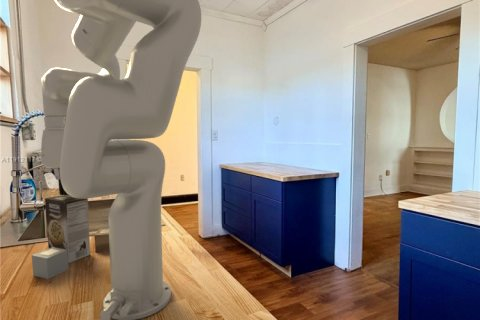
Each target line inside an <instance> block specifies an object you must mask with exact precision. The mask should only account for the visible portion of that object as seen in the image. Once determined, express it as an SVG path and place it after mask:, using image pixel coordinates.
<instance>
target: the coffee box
mask: <svg viewBox="0 0 480 320" xmlns="http://www.w3.org/2000/svg"><path fill="white" fill-rule="evenodd" d="M44 202H45V215H46V216H45V217H46V231H47V244H48V245H47V247H48V248H47V249H49V248H52V247H55V248H60V249H65V250H67V254H68V264H70V263H73V262H76V261H78V260H80V259H83V258H86V257H87V256H90V255H91V243H90V242H91V241H90V223H89V222H90V221H89V219H90V217H89V198H87V199H78V198H74V197H72V196H70V195H60V194H59V195H54V196H50V197H45V198H44Z"/></svg>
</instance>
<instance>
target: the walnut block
mask: <svg viewBox="0 0 480 320" xmlns="http://www.w3.org/2000/svg"><path fill="white" fill-rule="evenodd" d="M93 237H94V249H95V250H94V252H95V253H101V252H102V253H104V252H110V248H109V228H100V229H98V230H97V231H96V232H95V234H94V236H93Z"/></svg>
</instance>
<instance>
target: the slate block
mask: <svg viewBox="0 0 480 320" xmlns="http://www.w3.org/2000/svg"><path fill="white" fill-rule="evenodd" d="M31 263H32V274H33V276H34V277H38V278H42V279H46V280H50V279H52V278H54V277H56V276H58V275H61V274H62V273H64V272H66V271H68V270H69V263H68V254H67V250H65V249H60V248H55V247H52V248H47V249H44V250H42V251H39V252H36V253H34V254H32V255H31Z"/></svg>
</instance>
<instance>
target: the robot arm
mask: <svg viewBox="0 0 480 320" xmlns="http://www.w3.org/2000/svg"><path fill="white" fill-rule="evenodd" d="M54 2H55V3H56V4H57V6H58V7H60V8H61V9H63V10H65V11H66V12H70V13H74V14H76V15H79V18H78V20H77V22H76V24H75V26H74V28H73V30H72V32H71V40H72V43H73V45H74V47H75V48H76V50H78V52H79V53H80V54H81V55H82V56H84V57H85V58H87V59H88V60H90V61H91V62H93V63H94V64H96V65H97V66H99V67H100V68H102V69H101V70H100V72H99V73H92V72H87V71H82V70H74V69H68V68H61V67H52V68H50V69H49V70H48V71H47V72H46V73H44V75H43V76H42V77H41V92H42V107H43V122H44V129H43V130H42V136H41V143H40V144H41V147H40V149H41V152H40V153H41V163H42V165H43V167H44V172H46V173H50V174H52V175H53V176H54V177H55V180H56V181H58V190H59V191H58V192H59V193H58V194H59V196H60V195H70V196H72V197H74V198H78V199H87V198H88V199H94V198H101V197H105V196H111V195H116V196H115V198H114V200H113V202H112V204H111V206H110V209H109V212H108V218H107V222H108V225H107V226H108V227H107V228H108V229H109V248H110V251H109V263H110V266H109V267H110V269H109V270H110V285H111V286H110V287H111V290H110V291H109V292H108V293H107V294H106V296H104V297H103V298H104V299H103V301H102V310H101V312H100V313H99V319H100V320H111V319H114V320H140V319H144V318H146V317H150V316H152V315H154V314H156V313H158V312H160V311H161V310H162V309H164V308H165V307H166V306H167V305H168V303H169V302H170V300H171V297H172V288H171V286H170V285H169V284H168V283H167V282H165V281H164V275H163V274H164V272H163V271H164V270H163V245H162V243H163V242H162V241H163V240H162V239H163V237H162V236H163V235H162V194H163V193H162V191H163V185H164V184H163V183H164V178H165V175H166V174H165V172H166V159H165V155H164V153H163V151H162V149H161V148H160V147H159V146H158V145H156V144H155V143H153V142H151V141H148V140H145V139H155V138H158V137H161V136H163V135H164V134H165V132H166V131H167V129H168V127H169V124H170V122H171V118H172V115H173V112H174V107H175V104H176V99H177V97H178V93H179V90H180V85H181V83H182V78H183V73H184V71H185V68H186V66H187V63H188V61H189V59H190V58H189V57H190V56H191V54H192V51H193V50H194V49H195V45H196V43H197V41H198V38H199V35H200V31H201V27H202V26H201V25H202V9H201V5H200V1H199V0H54ZM136 22H137V23H141V24H144V25H147V26H150V27H152V28H153V29H151V30H150V31H149V32H147V33H146V34H145V35H144V36H143V37H142V38H141V39H140V40H139V41H138V42H137V43H136V44H135V45H134V48H133V49H132V51H131V54H130V57H129V63H128V68H127V70H126V71H127V72H126V75H125V76H124V78H122V79H120V78H121V67H120V62H119V60H118V57H117V56H116V54H117V53H118V51H119V50H120V48H121V46H122V45H123V43H124V42H125V40H126V38H127V37H128V35H129V33H130V32H131V30H132V28H133V27H134V26H135V24H136ZM142 139H143V140H142Z"/></svg>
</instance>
